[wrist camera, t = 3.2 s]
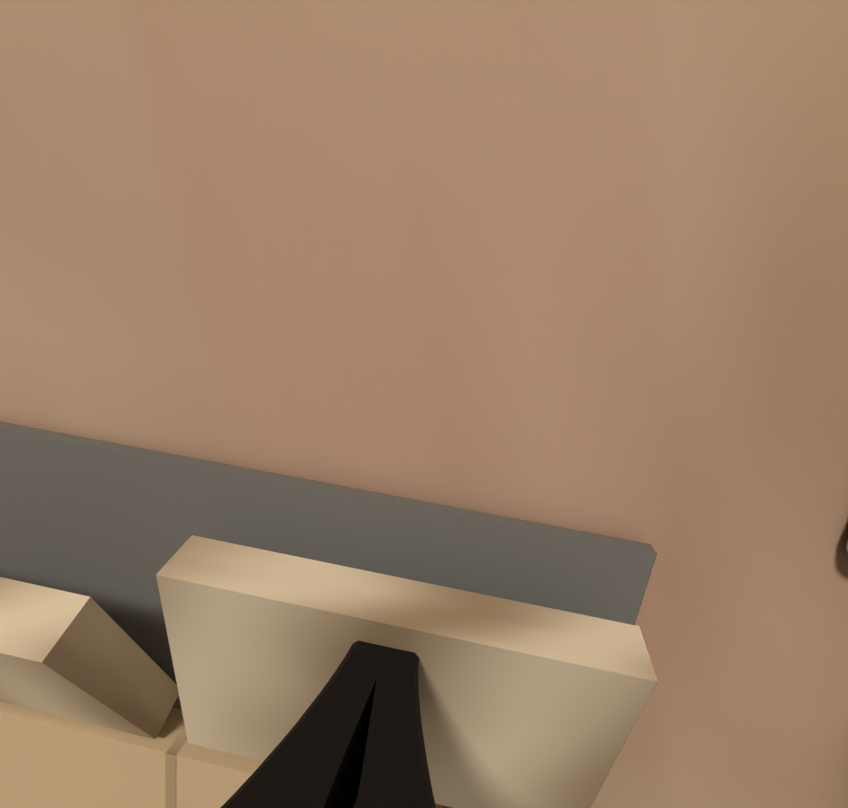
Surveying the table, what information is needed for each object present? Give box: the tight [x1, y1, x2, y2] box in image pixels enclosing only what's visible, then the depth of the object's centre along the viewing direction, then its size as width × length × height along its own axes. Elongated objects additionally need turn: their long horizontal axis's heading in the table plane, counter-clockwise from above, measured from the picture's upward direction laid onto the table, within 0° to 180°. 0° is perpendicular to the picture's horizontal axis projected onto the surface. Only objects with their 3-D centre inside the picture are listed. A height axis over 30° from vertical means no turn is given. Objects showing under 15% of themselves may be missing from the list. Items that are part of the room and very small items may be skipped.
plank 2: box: [156, 535, 658, 808], centre depth 11 cm, size 10×6×1 cm, turn 82°
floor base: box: [0, 422, 657, 808], centre depth 13 cm, size 22×14×2 cm, turn 82°
